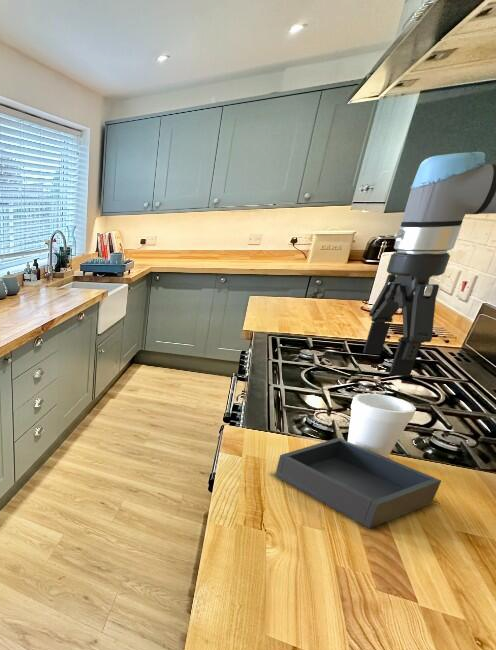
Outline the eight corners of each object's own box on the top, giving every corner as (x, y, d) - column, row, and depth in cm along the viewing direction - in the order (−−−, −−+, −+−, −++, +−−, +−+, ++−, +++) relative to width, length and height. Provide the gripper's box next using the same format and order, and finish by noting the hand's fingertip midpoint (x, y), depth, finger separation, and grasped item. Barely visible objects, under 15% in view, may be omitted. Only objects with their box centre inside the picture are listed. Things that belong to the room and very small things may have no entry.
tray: (431, 503, 76) (441, 480, 74) (369, 528, 71) (378, 504, 69) (332, 457, 91) (338, 437, 89) (274, 475, 86) (280, 454, 84)
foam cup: (367, 471, 86) (387, 414, 81) (326, 448, 94) (342, 396, 89) (407, 465, 87) (429, 409, 82) (363, 443, 95) (380, 391, 90)
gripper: (368, 246, 86) (341, 344, 94) (426, 259, 65) (384, 384, 73) (416, 245, 83) (384, 346, 91) (493, 258, 62) (442, 388, 70)
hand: (384, 363), depth 82 cm, fingers open, 13 cm apart
